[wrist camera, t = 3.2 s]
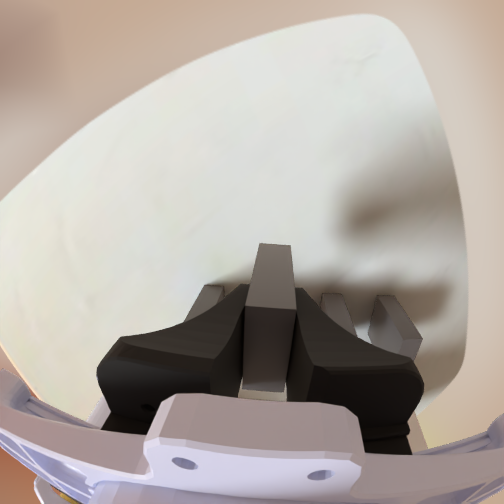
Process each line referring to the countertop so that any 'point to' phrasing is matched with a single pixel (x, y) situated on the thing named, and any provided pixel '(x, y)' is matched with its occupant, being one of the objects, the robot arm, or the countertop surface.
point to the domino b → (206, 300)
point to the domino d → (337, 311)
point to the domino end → (393, 328)
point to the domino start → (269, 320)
